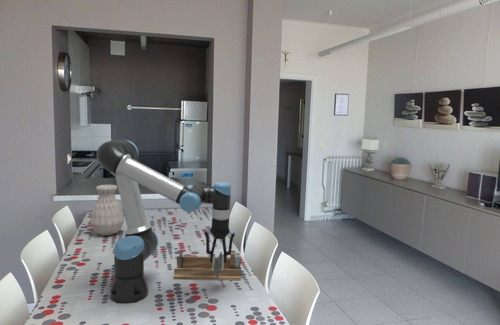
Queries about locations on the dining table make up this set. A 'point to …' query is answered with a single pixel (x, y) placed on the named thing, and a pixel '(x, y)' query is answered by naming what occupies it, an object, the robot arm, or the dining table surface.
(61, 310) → the dining table surface
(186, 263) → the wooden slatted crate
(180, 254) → the bookend
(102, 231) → the vase
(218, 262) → the stone
